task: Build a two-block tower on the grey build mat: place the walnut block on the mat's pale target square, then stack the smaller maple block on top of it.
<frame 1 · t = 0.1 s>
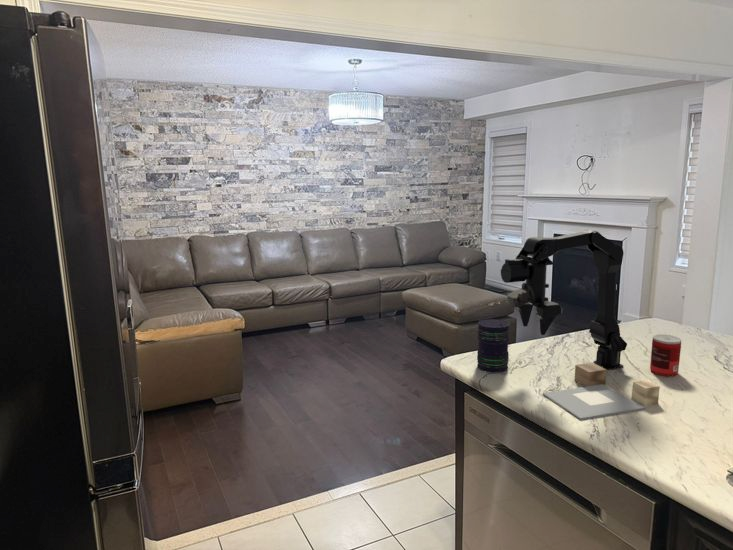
hand: (533, 330, 153), 15 cm above the counter, fingers open, 9 cm apart
walnut block: (589, 383, 150), on the counter
maple block: (644, 401, 137), on the counter
canned food: (663, 372, 157), on the counter
build mat: (592, 401, 138), on the counter
black jar: (492, 367, 164), on the counter
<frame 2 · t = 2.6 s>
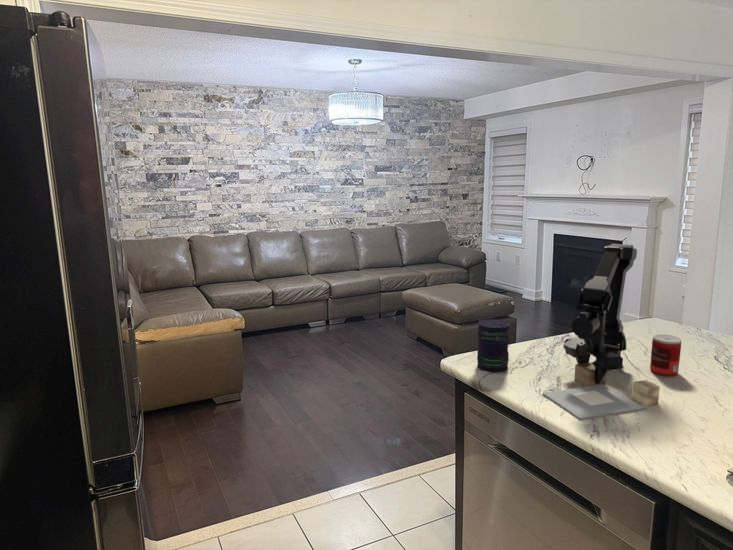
hand: (589, 379, 150), 1 cm above the counter, fingers closed on walnut block, 6 cm apart
walnut block: (589, 382, 150), on the counter, touching gripper
everything else where it was.
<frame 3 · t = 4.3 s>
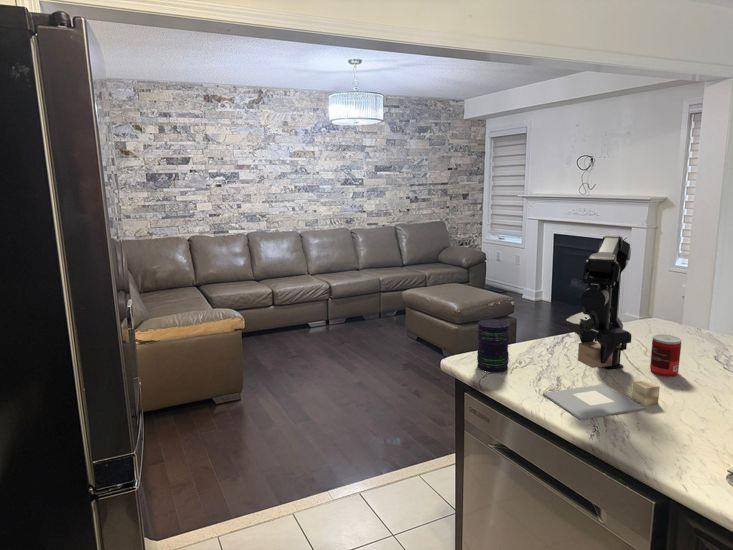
hand: (594, 359, 137), 11 cm above the counter, fingers closed on walnut block, 6 cm apart
walnut block: (594, 363, 137), point 10 cm above the counter, touching gripper
everything else where it was.
when the fingers open (2 cm above the counter, at t = 6.4 s): walnut block stays where it is, resting on build mat.
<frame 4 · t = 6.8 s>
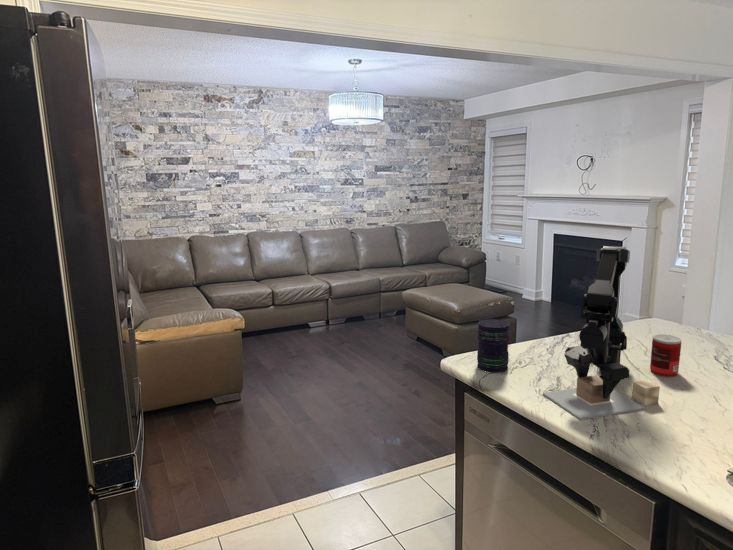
hand: (593, 391, 139), 2 cm above the counter, fingers open, 9 cm apart
walnut block: (592, 397, 139), point 1 cm above the counter, touching build mat
everything else where it was.
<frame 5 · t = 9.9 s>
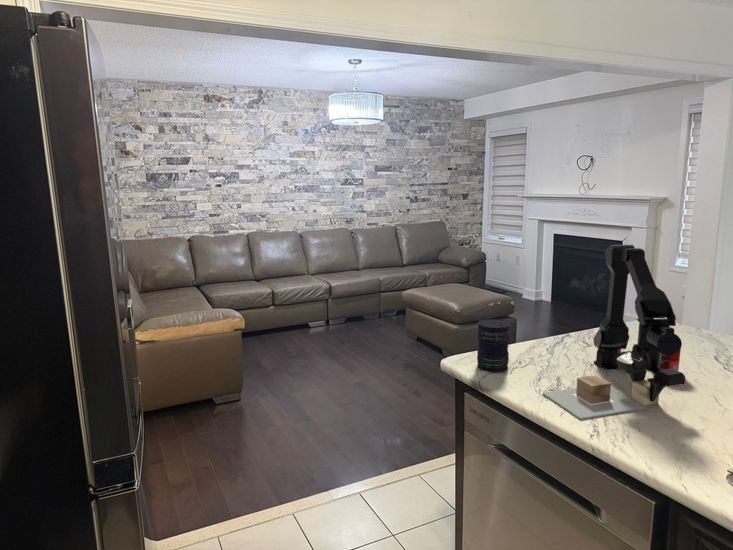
hand: (644, 397, 137), 1 cm above the counter, fingers closed on maple block, 4 cm apart
maple block: (644, 401, 137), on the counter, touching gripper
everything else where it was.
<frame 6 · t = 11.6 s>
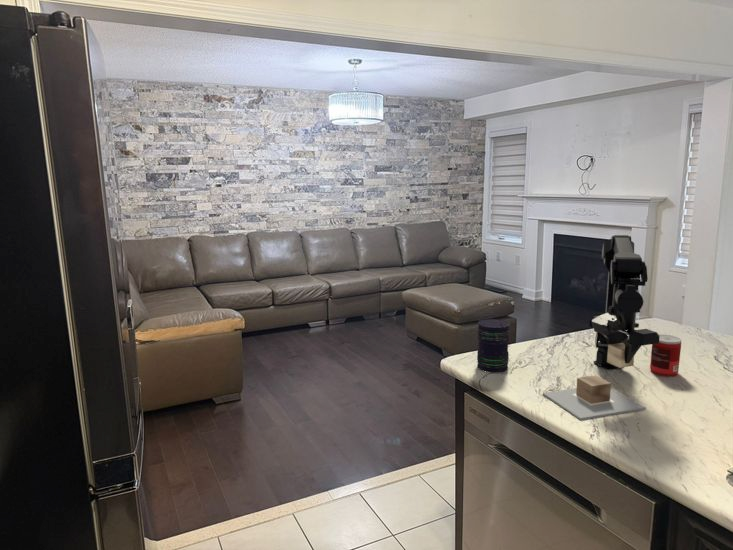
hand: (620, 360, 136), 12 cm above the counter, fingers closed on maple block, 4 cm apart
maple block: (620, 363, 136), point 11 cm above the counter, touching gripper
everything else where it was.
when the fingers open (8 cm above the counter, at t = 13.2 s): maple block drops 1 cm, resting on walnut block.
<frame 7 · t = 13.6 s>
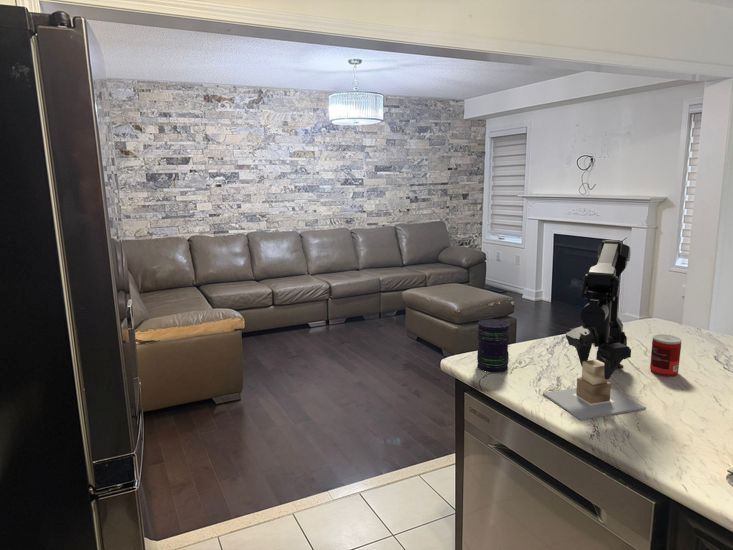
hand: (594, 372, 137), 8 cm above the counter, fingers open, 9 cm apart
walnut block: (592, 397, 139), point 1 cm above the counter, touching build mat, maple block
maple block: (594, 380, 138), point 6 cm above the counter, touching walnut block
everything else where it was.
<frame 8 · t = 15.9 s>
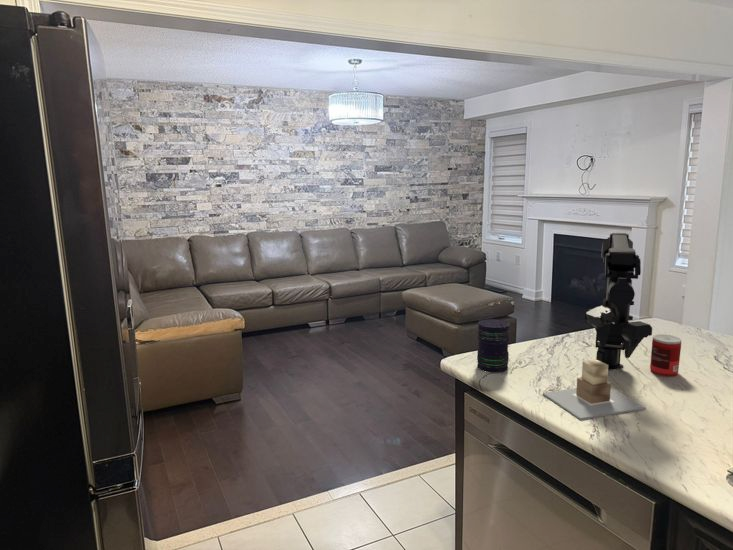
hand: (614, 352, 138), 13 cm above the counter, fingers open, 9 cm apart
nothing on the counter moved.
at the end: walnut block inside the target area (0.1 cm from its centre), point 0.5 cm above the counter; maple block 0.1 cm off-centre on the walnut block, point 5.0 cm above the walnut block's base; maple block tilted 0° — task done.
